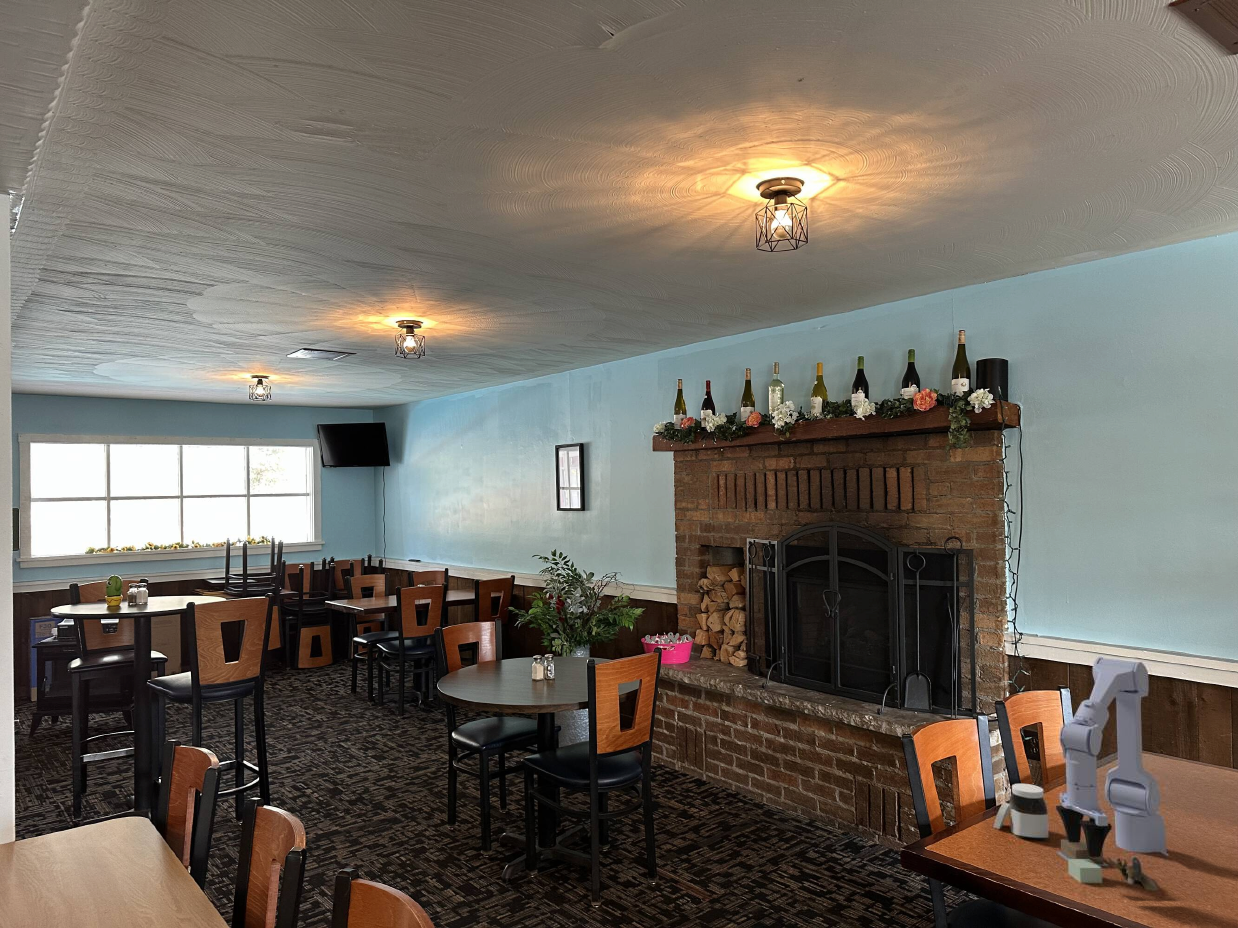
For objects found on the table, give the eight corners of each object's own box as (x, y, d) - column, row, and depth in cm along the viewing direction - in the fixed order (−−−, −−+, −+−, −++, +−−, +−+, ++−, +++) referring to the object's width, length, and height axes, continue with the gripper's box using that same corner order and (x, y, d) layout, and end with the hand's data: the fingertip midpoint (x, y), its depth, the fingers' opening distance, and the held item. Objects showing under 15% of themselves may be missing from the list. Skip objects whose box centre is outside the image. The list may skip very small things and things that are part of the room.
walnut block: (1087, 853, 185) (1087, 839, 186) (1103, 863, 179) (1103, 849, 180) (1061, 852, 185) (1060, 839, 186) (1076, 863, 179) (1075, 849, 180)
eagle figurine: (1101, 875, 173) (1135, 885, 165) (1111, 843, 175) (1145, 851, 167) (1130, 894, 173) (1166, 905, 165) (1140, 862, 176) (1176, 871, 167)
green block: (1089, 878, 175) (1089, 858, 175) (1102, 887, 170) (1101, 867, 170) (1068, 878, 175) (1068, 858, 175) (1080, 887, 170) (1079, 867, 170)
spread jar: (1053, 846, 191) (1051, 795, 192) (1001, 842, 194) (999, 792, 194) (1037, 828, 203) (1036, 780, 204) (988, 824, 205) (987, 777, 206)
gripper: (1045, 772, 181) (1047, 835, 180) (1082, 793, 167) (1084, 862, 166) (1077, 772, 181) (1079, 835, 180) (1117, 793, 167) (1119, 862, 166)
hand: (1084, 848), depth 173 cm, fingers open, 7 cm apart
